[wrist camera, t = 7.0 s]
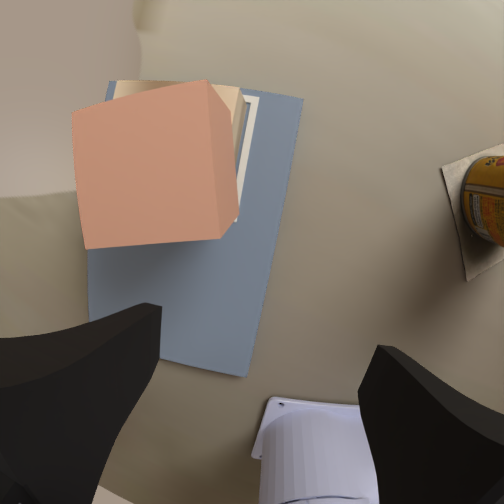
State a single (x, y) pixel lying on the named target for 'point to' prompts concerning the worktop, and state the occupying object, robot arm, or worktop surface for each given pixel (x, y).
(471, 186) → the condiment
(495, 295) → the worktop surface
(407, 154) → the worktop surface
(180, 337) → the board
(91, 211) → the terracotta block
